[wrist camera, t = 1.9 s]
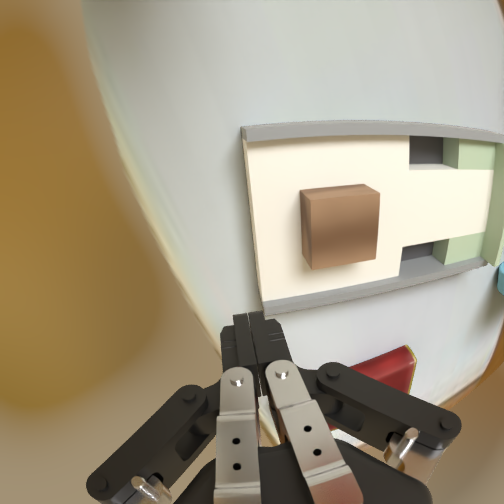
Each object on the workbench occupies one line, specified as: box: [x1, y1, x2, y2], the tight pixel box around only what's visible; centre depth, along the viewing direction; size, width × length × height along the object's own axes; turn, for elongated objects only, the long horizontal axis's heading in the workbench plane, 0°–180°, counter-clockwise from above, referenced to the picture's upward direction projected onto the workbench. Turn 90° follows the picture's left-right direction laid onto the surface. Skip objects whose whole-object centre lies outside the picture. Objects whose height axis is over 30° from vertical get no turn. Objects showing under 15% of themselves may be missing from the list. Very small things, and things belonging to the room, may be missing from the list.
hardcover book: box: [326, 344, 417, 431], centre depth 42 cm, size 12×21×4 cm, turn 104°
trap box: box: [241, 120, 504, 316], centre depth 27 cm, size 17×30×6 cm, turn 96°
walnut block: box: [300, 184, 380, 270], centre depth 25 cm, size 6×6×3 cm
